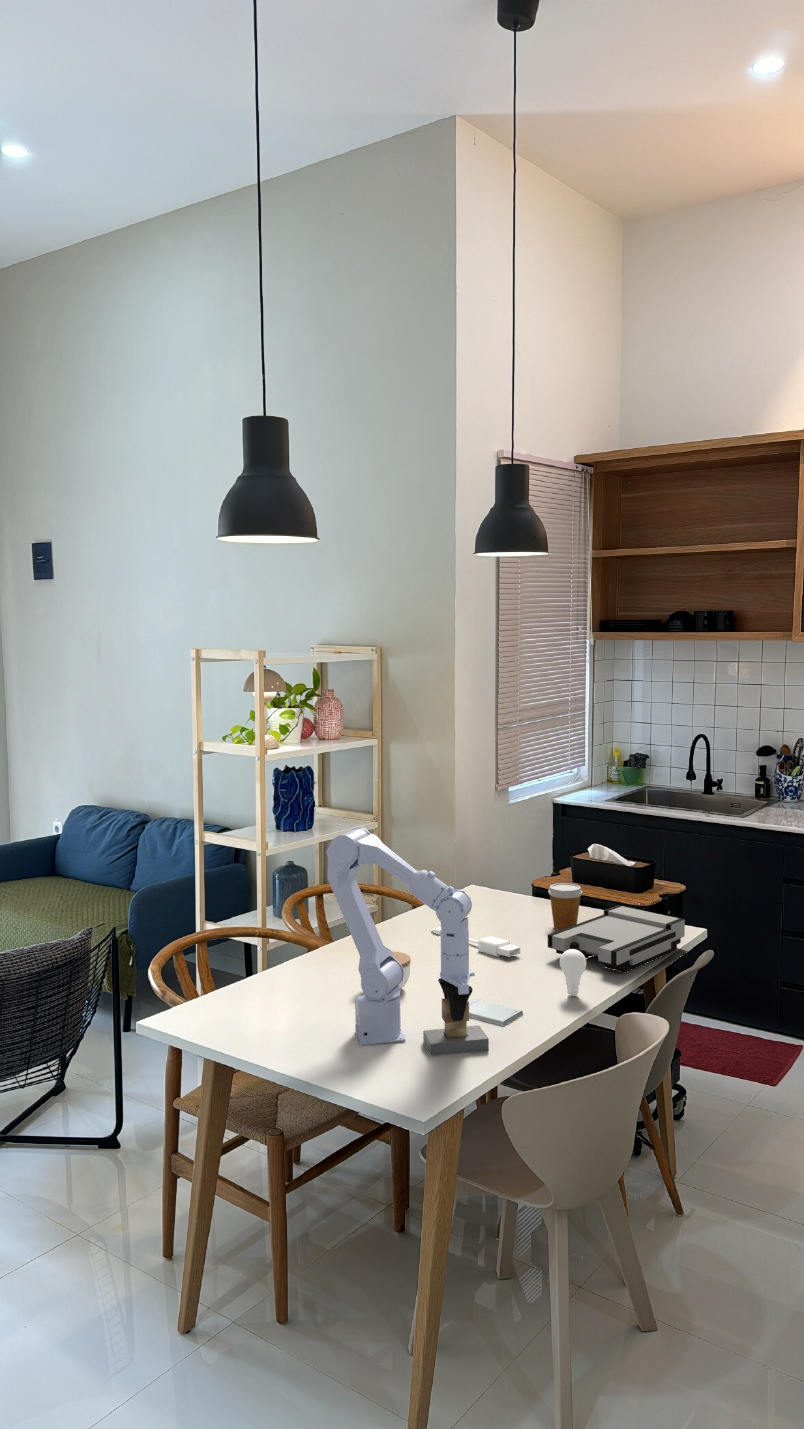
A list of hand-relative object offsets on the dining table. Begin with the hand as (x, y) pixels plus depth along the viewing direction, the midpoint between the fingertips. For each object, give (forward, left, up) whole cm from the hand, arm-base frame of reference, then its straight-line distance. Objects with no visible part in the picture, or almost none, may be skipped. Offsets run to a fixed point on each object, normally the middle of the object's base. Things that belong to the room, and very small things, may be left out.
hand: (455, 1016), depth 207 cm
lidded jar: (-7, +36, -6) cm, 37 cm away
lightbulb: (+34, +22, -6) cm, 40 cm away
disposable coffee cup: (+51, +73, -6) cm, 89 cm away
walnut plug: (0, 0, -4) cm, 4 cm away
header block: (0, 0, -6) cm, 6 cm away
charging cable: (+21, +64, -7) cm, 68 cm away
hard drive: (+12, +15, -7) cm, 21 cm away
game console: (+56, +48, -7) cm, 73 cm away
